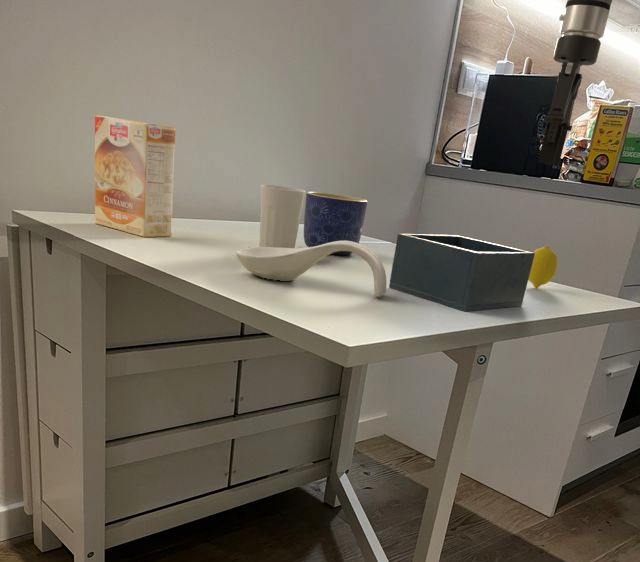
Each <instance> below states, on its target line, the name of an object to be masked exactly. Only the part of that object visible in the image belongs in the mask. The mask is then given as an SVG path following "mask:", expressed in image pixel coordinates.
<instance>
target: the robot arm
mask: <svg viewBox="0 0 640 562" xmlns="http://www.w3.org/2000/svg"><path fill="white" fill-rule="evenodd" d="M612 3H613V0H566V3H565V7H564V14H560V16H559V18H558V20H559V21H560V22H561V25H560V30H559V33H560V35H561V36H559V38H557V40H556V45H555V49H554V53H553V60H554V61H555V62H557V63H560V64H561V69H560V71H559V72H558V75H557V81H556V86H555V91H554V95H553V97H552V102H551V105H550V107H549V108H550V109H549V111H548V112H547V115H544V117H543V123H546V127H545V131H544V135H543V139H542V144H541V147H540V152H539V157H538V159H537V163H543V164H544V165H548V166H555V167H559V166H560V161H561V159H562V154H563V150H564V147H565V142H566V138H567V134H568V131H569V132H572V129H573V125H571V119H572V114H573V111H574V110H573V109H574V106H575V102H576V101H575V100H576V99H577V97H578V93H579V90H580V89H579V88H580V87H581V83H582V81H583V74H582V73H580V71H581V67H583V66H593V65H595V64H596V62H597V60H598V56H599V52H600V49H601V45H602V43H601V41H600V39H601V38H603V37H604V34H605V30H606V26H607V24H608V19H609V15H610V10H611V7H612Z"/></svg>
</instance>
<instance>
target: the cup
mask: <svg viewBox="0 0 640 562" xmlns="http://www.w3.org/2000/svg"><path fill="white" fill-rule="evenodd" d="M305 197H306V190H304V189H301V188H295V187H288V186H283V185H274V184H261V185H260V217H259V218H260V221H259V223H260V224H259V247H275V248H296V243H297V237H298V232H299V227H300V220H301V216H302V212H303V211H302V210H303V205H304V202H305V201H304V200H305Z"/></svg>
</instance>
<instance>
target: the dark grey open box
mask: <svg viewBox="0 0 640 562" xmlns="http://www.w3.org/2000/svg"><path fill="white" fill-rule="evenodd" d="M395 243H396V244H395V247H394V248H395V250H394V255H393V260H392V266H391V272H390V278H389V285H388V288H390V289H394V290H397V291H400V292H403V293H406V294H409V295H412V296H415V297H418V298H421V299H424V300H428V301H431V302H434V303H437V304H439V305H440V304H441V305H443V306H446V307H450V308H453V309H456V310H459V311H461V312H474V311H484V310H485V311H486V310H495V309H505V308H506V309H507V308H515V307H522V306H523V302H524V299H525V295H526V290H527V286H528V282H529V280H528V279H529V275H530V271H531V267H532V263H533V259H534V255H535V253H533V252H532V251H527V250H524V249H519V248H514V247H510V246H506V245H502V244H498V243H492V242H489V241H483V240H480V239H475V238H470V237H466V236H462V235H458V234H428V233H427V234H425V233H397V237H396V242H395Z"/></svg>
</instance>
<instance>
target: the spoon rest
mask: <svg viewBox="0 0 640 562" xmlns="http://www.w3.org/2000/svg"><path fill="white" fill-rule="evenodd" d="M338 251H349V252H353V253H352V254H355V255H357V256H359V257H360V258H361V259H363V260H364V261H365V262H366V263H367V264H368V266H369V267H370V270H371V271H372V275H373V295H374V297H375V298H381V297H382V296H383V295H384V294H386V292H387V274H386V269H385V267H384V265H383V262H382V261H381V259H380V258H379V257H378V256H377V254H376V253H374V251H372V250H371V249H370V248H368V247H367V246H365V245H363V244H362V243H359V244H358V243H356V242H352V241H335V242H330V243H326V244H322V245H319V246H315V247H301V248H300V247H295V248H275V247H260V246H253V247H245V248H241V249H238V250H236V252H235V254H236V257H237V259H238V261H239V262H240V264H241V265H242V266H243V267H244V268H245V269H246V270H248V271H249V272H251V273H252V274H254V275H255V276H256V275H258V276H260V277H259V278H261V277H263V278H262V279H264V278H268V279H267V280H269V279H274V280H273V281H276V280H280V281H279V282H291V281H294V280H296V279H297V278H298V277H300V276H302V275H303V274H304V273H306V272H307V271H308V270H310V269H311V268H312V267H313V266H315V265H316V264H317V263H318V262H320V261H321V260H323V259H324V258H325V257H327V256H329V255H332V254H331V253H334V252H338ZM258 276H257V277H258Z"/></svg>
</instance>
